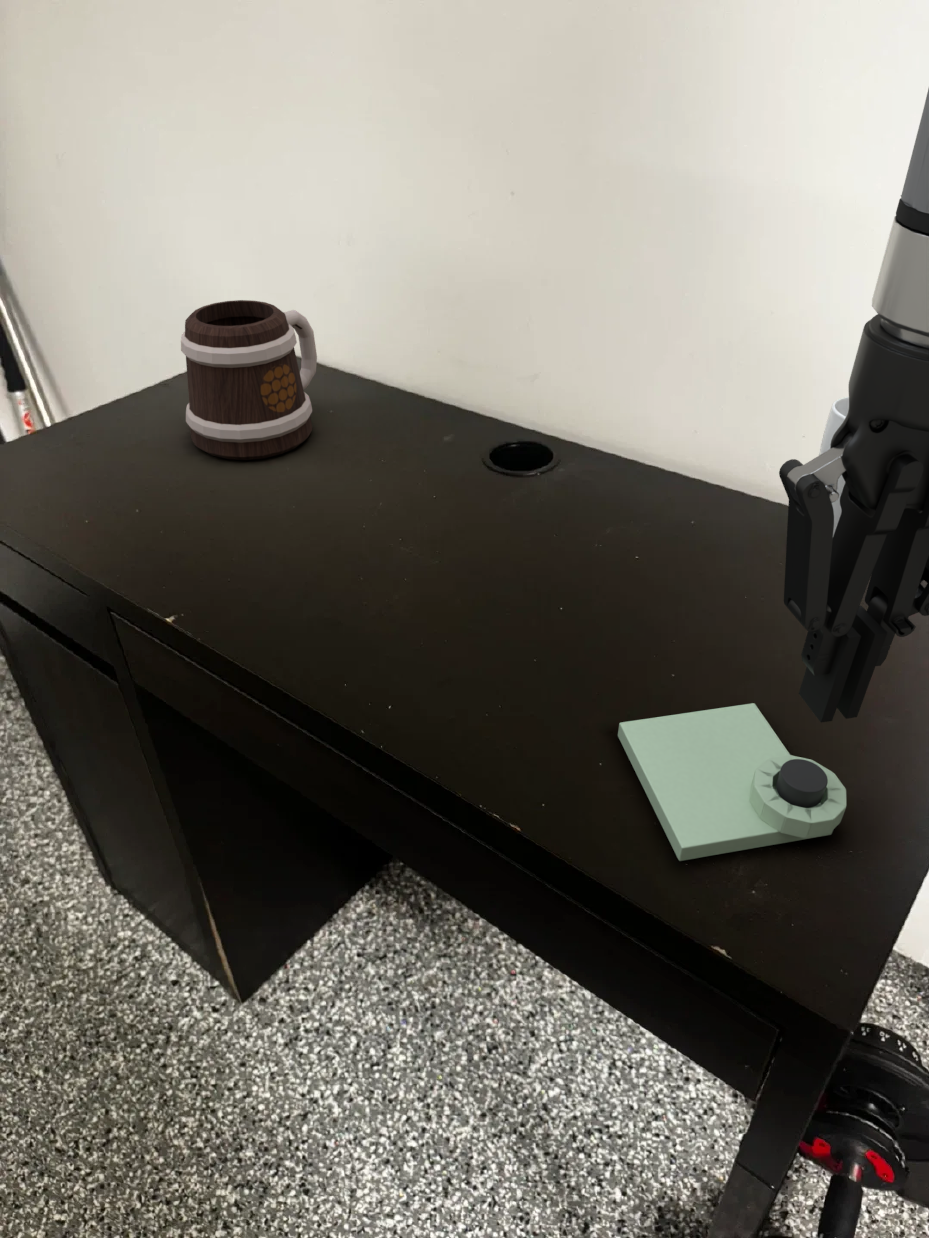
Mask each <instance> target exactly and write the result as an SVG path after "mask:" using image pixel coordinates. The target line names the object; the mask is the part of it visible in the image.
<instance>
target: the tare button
mask: <svg viewBox="0 0 929 1238" xmlns="http://www.w3.org/2000/svg"><path fill="white" fill-rule="evenodd" d="M827 783H828V779H827V776H826V774H825V772H824V771H823V770H822V769H821V768H820V767H819V766H818V765H816V764H814V763H812V762H810V761H807V760H802V759H793V760H789V761H787V762H785V763H784V764H783V765H782V767H781V769H780V773H779V776H778V779H777V782H776V789H777V792H778V794H779V795H780V797H781V798H782V799H784V800H785V801H786V802H788V803H789V804H791V805H794V806H798V807H803V808H809V807H814V806H816V805H818V804H819V803H820V802H821V800H822V798H823V795H824V792H825V789H826V786H827Z"/></svg>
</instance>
